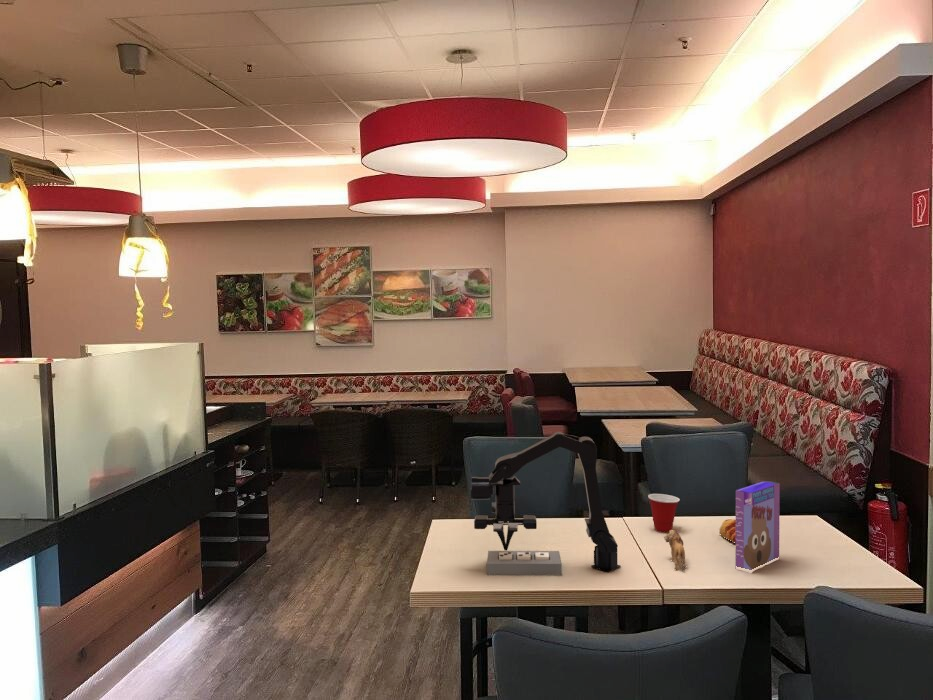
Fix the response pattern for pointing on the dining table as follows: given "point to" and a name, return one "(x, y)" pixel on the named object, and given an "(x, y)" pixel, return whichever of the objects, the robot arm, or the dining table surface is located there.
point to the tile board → (524, 564)
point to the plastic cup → (663, 511)
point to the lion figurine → (676, 548)
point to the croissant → (729, 529)
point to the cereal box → (757, 524)
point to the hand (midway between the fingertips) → (505, 550)
